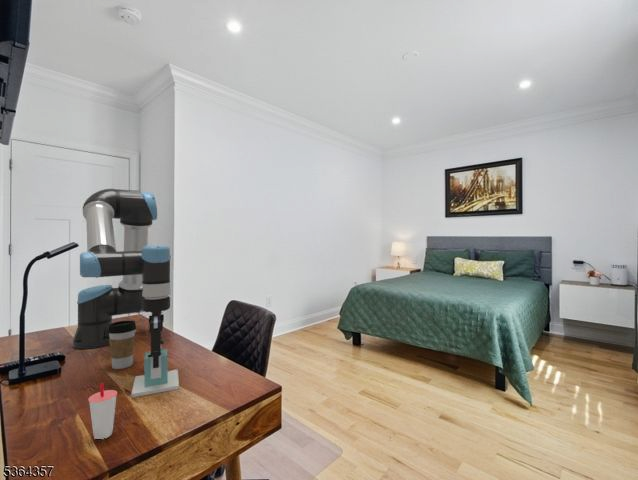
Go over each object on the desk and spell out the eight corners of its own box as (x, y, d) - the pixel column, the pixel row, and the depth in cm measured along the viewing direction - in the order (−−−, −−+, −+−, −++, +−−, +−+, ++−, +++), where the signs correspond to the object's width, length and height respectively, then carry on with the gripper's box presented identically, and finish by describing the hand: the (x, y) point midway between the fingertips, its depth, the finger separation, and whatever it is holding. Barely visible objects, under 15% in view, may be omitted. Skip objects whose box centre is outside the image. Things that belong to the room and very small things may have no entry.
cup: (82, 439, 69) (82, 385, 69) (106, 425, 74) (106, 375, 74) (99, 445, 67) (99, 389, 67) (123, 430, 72) (122, 379, 72)
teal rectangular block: (145, 378, 96) (145, 352, 96) (167, 375, 98) (167, 349, 98) (144, 387, 90) (144, 358, 90) (167, 382, 93) (167, 355, 93)
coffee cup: (122, 371, 103) (122, 326, 103) (101, 369, 104) (101, 324, 104) (142, 361, 111) (142, 319, 111) (121, 359, 113) (121, 318, 112)
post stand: (135, 379, 97) (135, 354, 97) (177, 372, 103) (177, 348, 102) (131, 397, 86) (131, 369, 86) (178, 388, 92) (178, 361, 92)
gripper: (144, 291, 102) (144, 361, 102) (139, 304, 83) (139, 389, 83) (169, 290, 105) (170, 357, 106) (170, 302, 86) (170, 384, 87)
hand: (156, 371), depth 94 cm, fingers open, 8 cm apart
